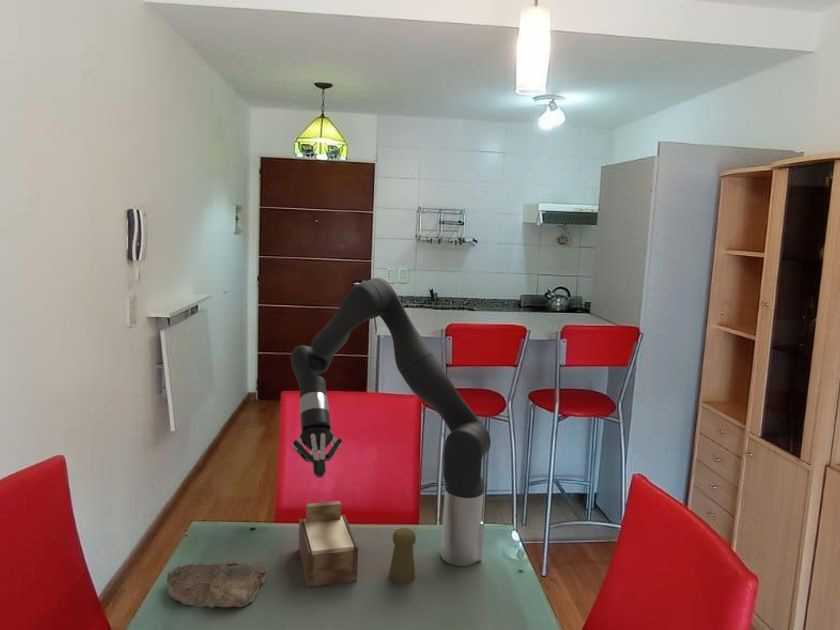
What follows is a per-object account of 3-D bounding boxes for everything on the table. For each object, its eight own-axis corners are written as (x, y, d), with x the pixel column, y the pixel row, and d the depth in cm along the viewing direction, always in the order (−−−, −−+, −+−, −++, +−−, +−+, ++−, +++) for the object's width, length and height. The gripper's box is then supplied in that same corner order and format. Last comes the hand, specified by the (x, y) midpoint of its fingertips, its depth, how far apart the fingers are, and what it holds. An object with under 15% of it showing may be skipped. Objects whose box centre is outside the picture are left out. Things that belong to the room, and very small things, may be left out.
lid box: (343, 545, 159) (344, 514, 158) (356, 581, 144) (358, 547, 143) (298, 549, 155) (299, 518, 154) (307, 587, 140) (308, 553, 139)
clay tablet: (152, 606, 131) (248, 614, 130) (151, 584, 131) (248, 591, 129) (181, 570, 145) (269, 577, 144) (181, 550, 144) (269, 556, 143)
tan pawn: (383, 575, 147) (385, 530, 145) (401, 565, 151) (404, 521, 149) (402, 586, 143) (404, 540, 141) (420, 576, 147) (423, 531, 145)
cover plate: (341, 519, 157) (342, 500, 156) (354, 550, 143) (355, 529, 142) (302, 523, 154) (303, 503, 153) (311, 555, 140) (312, 533, 139)
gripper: (290, 407, 164) (294, 472, 154) (342, 405, 168) (348, 469, 158) (287, 420, 170) (291, 483, 160) (337, 418, 174) (343, 480, 164)
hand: (320, 476), depth 159 cm, fingers closed
